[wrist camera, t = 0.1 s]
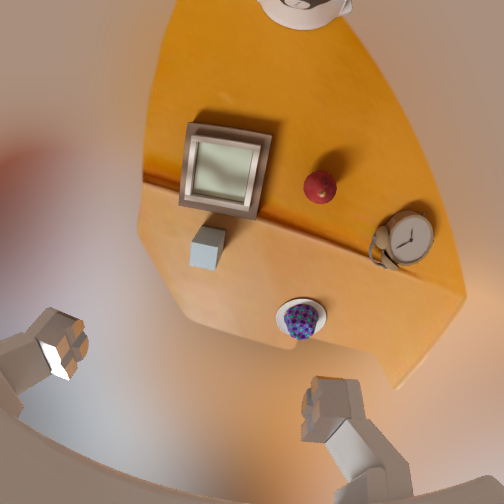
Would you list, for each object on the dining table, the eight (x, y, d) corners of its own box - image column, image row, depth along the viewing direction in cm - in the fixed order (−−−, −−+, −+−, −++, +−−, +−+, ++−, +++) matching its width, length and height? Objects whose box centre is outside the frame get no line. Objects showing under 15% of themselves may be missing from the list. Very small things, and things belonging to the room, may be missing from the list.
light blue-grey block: (202, 224, 60) (191, 241, 53) (226, 229, 60) (217, 247, 53) (200, 246, 62) (189, 265, 55) (223, 250, 62) (214, 270, 55)
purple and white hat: (265, 314, 69) (264, 328, 65) (306, 287, 65) (307, 302, 60) (296, 341, 73) (296, 356, 68) (335, 318, 68) (338, 333, 63)
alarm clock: (439, 251, 53) (383, 285, 56) (427, 242, 58) (374, 274, 60) (428, 205, 49) (367, 240, 52) (415, 199, 54) (357, 231, 56)
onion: (312, 161, 51) (316, 170, 44) (338, 176, 52) (347, 188, 45) (297, 187, 54) (298, 200, 47) (323, 202, 55) (328, 217, 48)
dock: (192, 121, 50) (184, 123, 46) (272, 134, 50) (271, 136, 46) (183, 200, 58) (175, 208, 54) (256, 214, 57) (254, 223, 54)
